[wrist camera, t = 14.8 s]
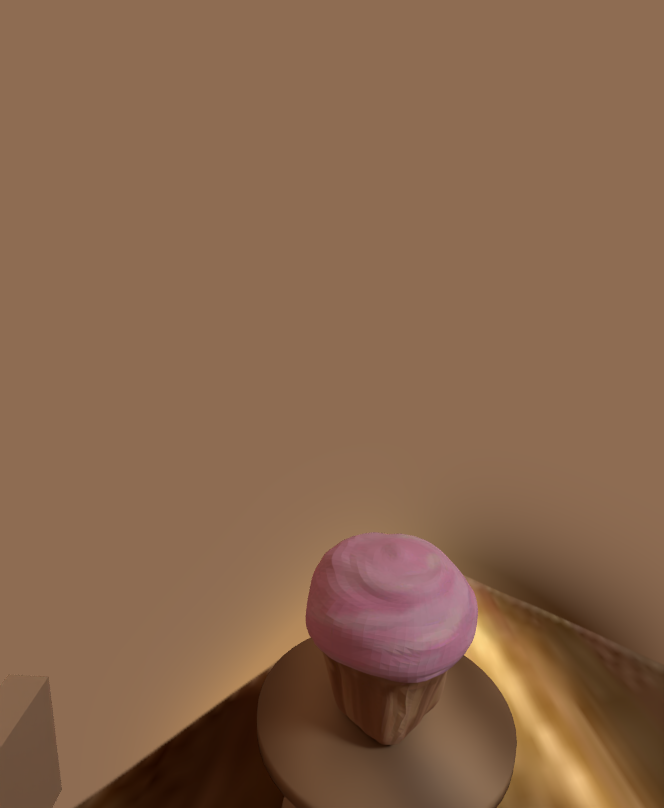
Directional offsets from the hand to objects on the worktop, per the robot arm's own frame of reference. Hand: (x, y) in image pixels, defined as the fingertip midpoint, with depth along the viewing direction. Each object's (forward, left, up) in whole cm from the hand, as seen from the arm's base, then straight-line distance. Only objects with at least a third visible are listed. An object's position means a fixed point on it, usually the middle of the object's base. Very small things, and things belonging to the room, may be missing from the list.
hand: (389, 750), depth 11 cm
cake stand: (-8, -16, -24) cm, 30 cm away
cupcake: (-8, -16, -16) cm, 23 cm away
